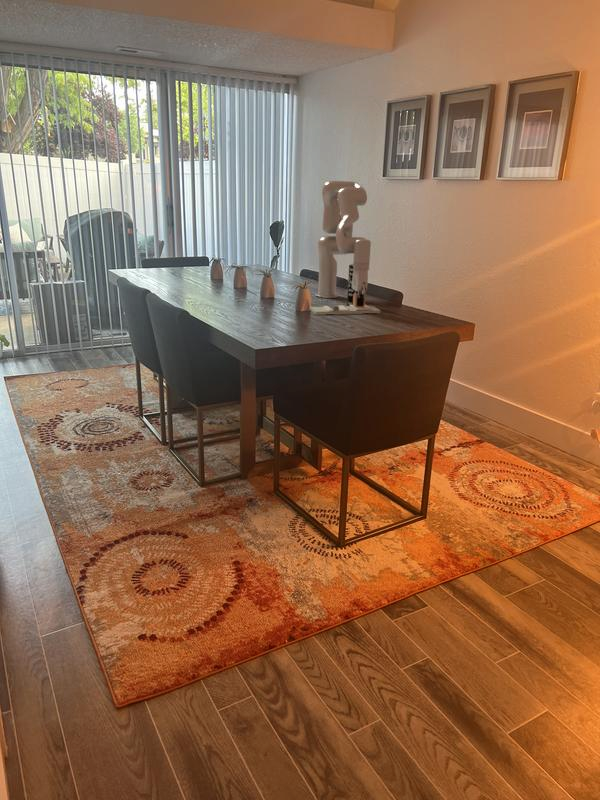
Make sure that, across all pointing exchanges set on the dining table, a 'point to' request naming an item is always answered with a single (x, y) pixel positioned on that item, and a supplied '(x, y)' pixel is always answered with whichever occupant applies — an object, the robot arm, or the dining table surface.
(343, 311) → the ticket board
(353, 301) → the stub
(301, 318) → the dining table surface
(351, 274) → the white-spotted black cylinder
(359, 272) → the robot arm
